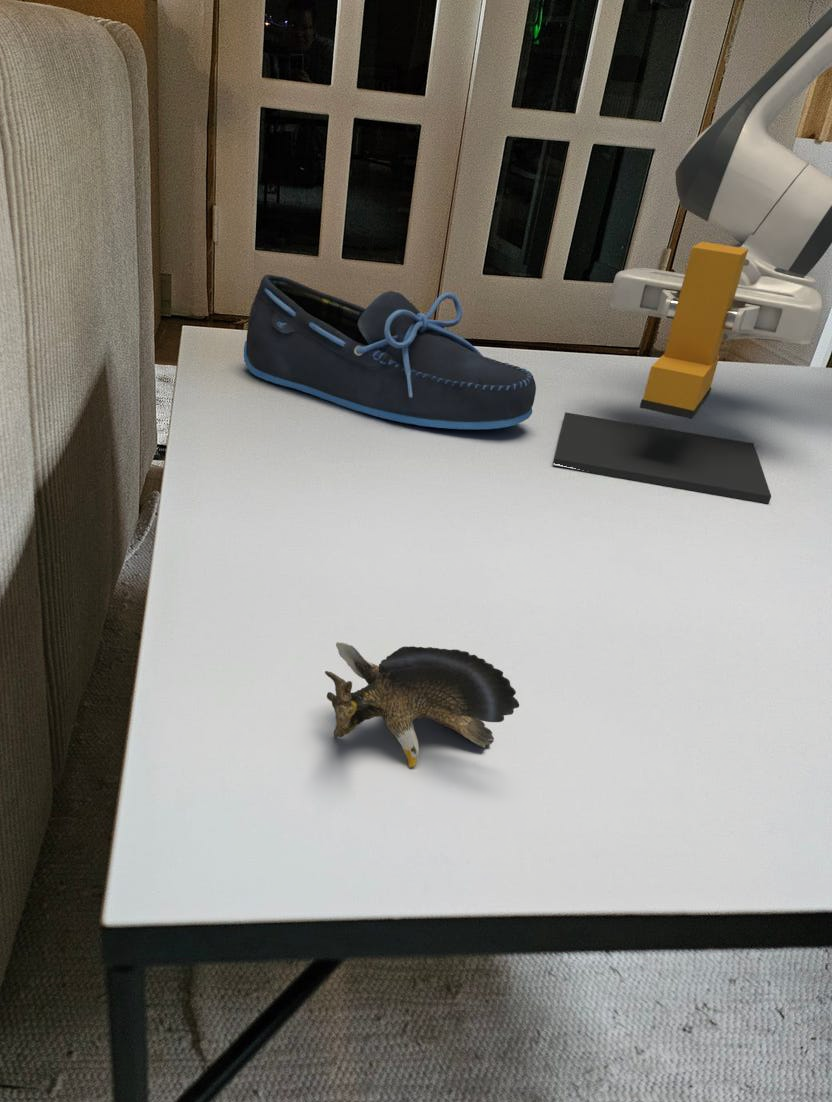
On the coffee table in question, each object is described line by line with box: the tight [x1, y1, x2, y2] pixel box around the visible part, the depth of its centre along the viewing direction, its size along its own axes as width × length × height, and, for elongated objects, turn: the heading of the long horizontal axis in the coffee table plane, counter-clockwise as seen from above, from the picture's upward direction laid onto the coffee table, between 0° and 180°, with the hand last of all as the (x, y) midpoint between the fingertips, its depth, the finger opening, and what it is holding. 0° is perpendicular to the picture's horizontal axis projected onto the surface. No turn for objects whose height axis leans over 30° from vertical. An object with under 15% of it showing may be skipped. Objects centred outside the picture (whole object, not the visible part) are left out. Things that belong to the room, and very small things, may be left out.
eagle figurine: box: [324, 641, 520, 768], centre depth 49 cm, size 8×7×9 cm
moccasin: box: [243, 274, 537, 430], centre depth 100 cm, size 14×34×12 cm, turn 65°
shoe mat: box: [552, 411, 772, 505], centre depth 95 cm, size 20×16×1 cm
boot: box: [639, 241, 748, 420], centre depth 89 cm, size 10×5×14 cm, turn 153°
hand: (701, 315), depth 90 cm, fingers closed on boot, 4 cm apart
